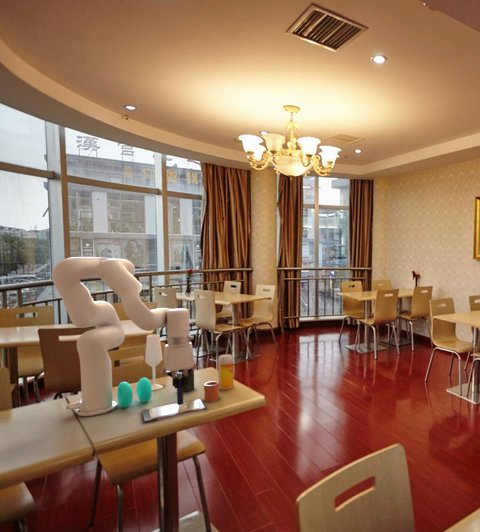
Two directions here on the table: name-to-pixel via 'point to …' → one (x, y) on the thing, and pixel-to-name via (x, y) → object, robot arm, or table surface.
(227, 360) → the beer glass
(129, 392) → the pair of turquoise ovals
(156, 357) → the champagne flute
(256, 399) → the table surface
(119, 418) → the table surface
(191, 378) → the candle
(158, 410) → the tablet
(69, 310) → the robot arm
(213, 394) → the pen cup
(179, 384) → the marker
